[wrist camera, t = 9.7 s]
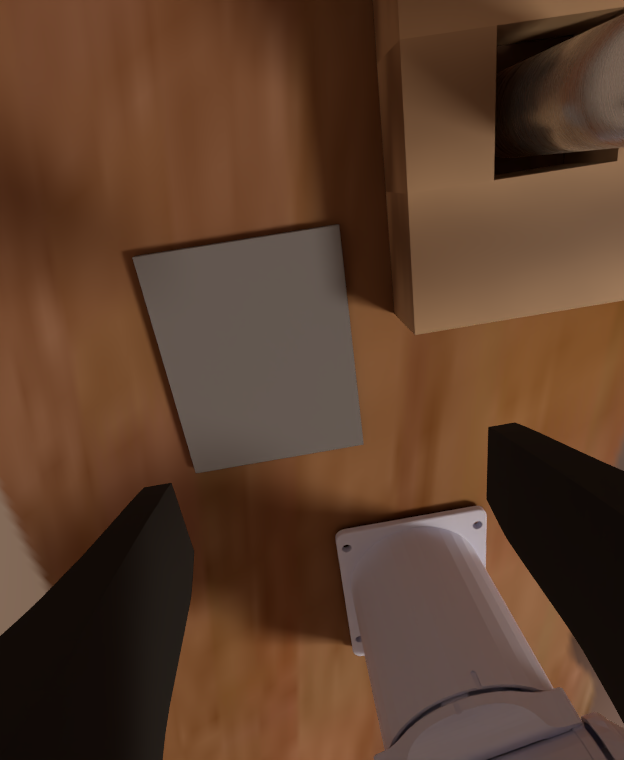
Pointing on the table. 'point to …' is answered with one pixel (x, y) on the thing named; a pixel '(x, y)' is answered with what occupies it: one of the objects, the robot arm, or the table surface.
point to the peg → (564, 97)
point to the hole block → (486, 172)
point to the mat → (256, 345)
